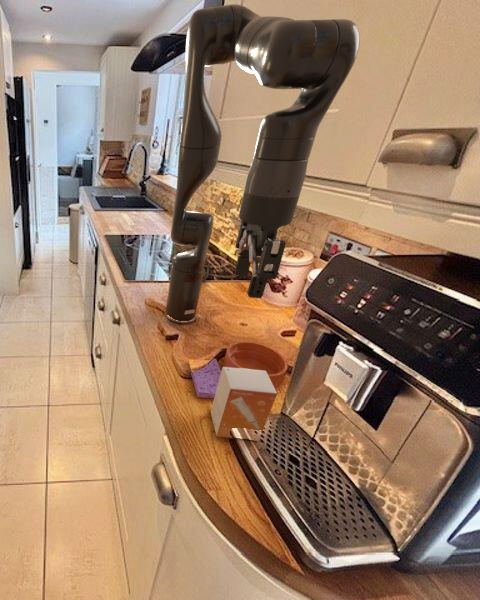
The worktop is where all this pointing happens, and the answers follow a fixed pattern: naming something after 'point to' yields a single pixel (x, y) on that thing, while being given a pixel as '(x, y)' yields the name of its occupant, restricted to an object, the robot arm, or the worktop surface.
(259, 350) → the bowl
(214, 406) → the small box
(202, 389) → the sponge
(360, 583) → the worktop surface
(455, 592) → the worktop surface
